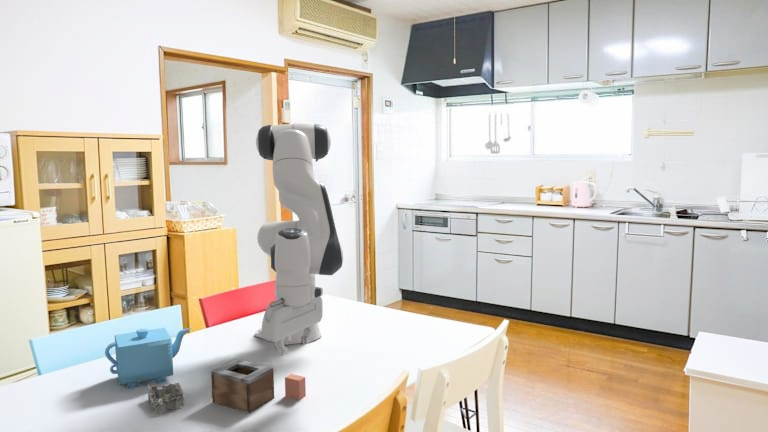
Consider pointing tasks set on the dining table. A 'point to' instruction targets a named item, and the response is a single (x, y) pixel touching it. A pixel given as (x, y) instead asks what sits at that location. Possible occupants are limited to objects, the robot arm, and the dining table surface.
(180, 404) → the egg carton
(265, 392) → the box
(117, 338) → the teapot
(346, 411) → the dining table surface
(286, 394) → the block
